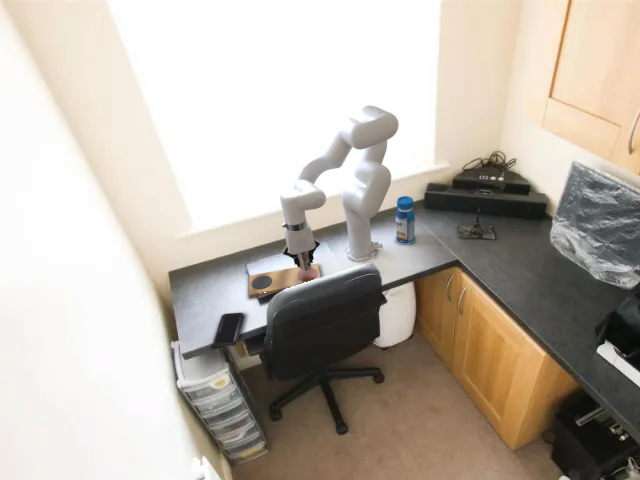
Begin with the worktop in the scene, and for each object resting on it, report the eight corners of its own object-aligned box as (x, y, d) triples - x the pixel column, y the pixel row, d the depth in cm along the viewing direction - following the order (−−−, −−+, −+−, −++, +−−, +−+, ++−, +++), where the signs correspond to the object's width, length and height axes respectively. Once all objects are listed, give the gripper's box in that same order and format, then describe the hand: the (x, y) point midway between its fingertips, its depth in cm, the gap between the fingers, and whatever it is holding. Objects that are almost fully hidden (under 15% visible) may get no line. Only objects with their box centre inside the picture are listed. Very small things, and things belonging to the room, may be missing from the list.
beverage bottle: (416, 243, 181) (417, 203, 168) (397, 246, 181) (396, 205, 167) (413, 233, 188) (413, 193, 174) (394, 235, 187) (393, 195, 174)
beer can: (309, 272, 162) (304, 247, 154) (297, 271, 163) (292, 246, 155) (313, 265, 165) (308, 240, 158) (302, 264, 166) (296, 239, 158)
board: (318, 266, 172) (317, 262, 171) (321, 284, 164) (321, 280, 162) (250, 278, 168) (249, 275, 167) (250, 297, 159) (248, 294, 158)
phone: (243, 312, 151) (235, 343, 140) (244, 314, 152) (236, 345, 141) (222, 313, 151) (211, 344, 140) (223, 316, 152) (213, 347, 141)
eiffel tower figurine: (491, 226, 189) (495, 200, 180) (494, 239, 182) (499, 212, 173) (458, 226, 190) (461, 200, 181) (460, 239, 183) (462, 212, 174)
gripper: (275, 234, 146) (285, 274, 157) (321, 223, 150) (328, 262, 162) (271, 224, 151) (281, 263, 163) (315, 213, 156) (322, 252, 167)
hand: (304, 262), depth 162 cm, fingers closed on beer can, 4 cm apart
